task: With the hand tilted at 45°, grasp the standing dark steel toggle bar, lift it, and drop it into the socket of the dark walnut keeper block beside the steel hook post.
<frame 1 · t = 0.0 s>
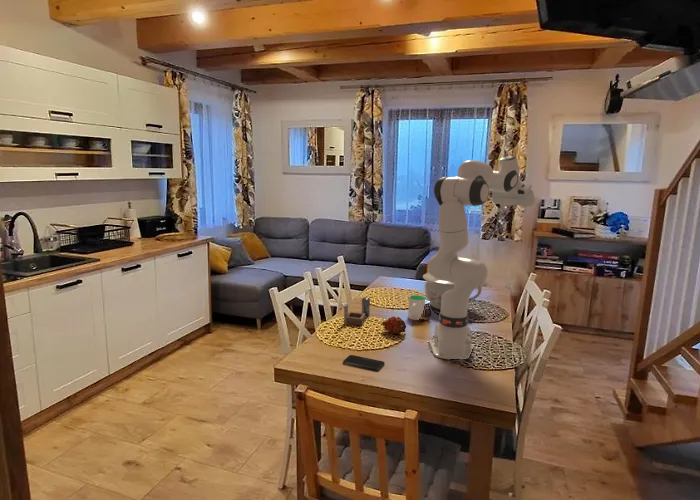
hand: (514, 211, 226), 54 cm above the table, tool tilted 30°, fingers open, 8 cm apart
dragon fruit: (393, 333, 208), on the table
keeper: (355, 322, 221), on the table
steel toggle: (365, 315, 230), on the table
mug: (415, 318, 228), on the table
phone: (363, 365, 176), on the table
chamber pot: (446, 307, 247), on the table
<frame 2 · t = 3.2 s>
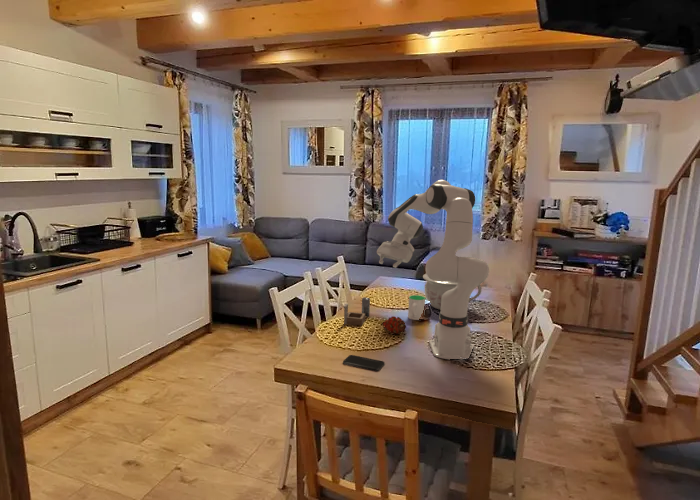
hand: (387, 265, 237), 24 cm above the table, tool tilted 40°, fingers open, 8 cm apart
nothing on the table moved.
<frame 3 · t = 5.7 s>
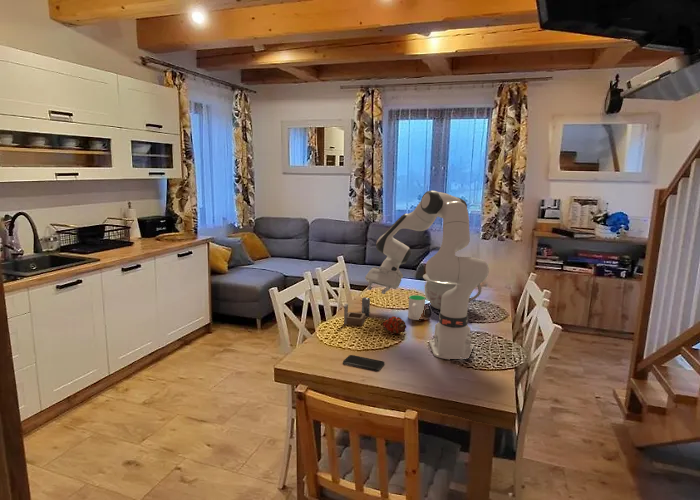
hand: (375, 291, 234), 11 cm above the table, tool tilted 45°, fingers open, 8 cm apart
nothing on the table moved.
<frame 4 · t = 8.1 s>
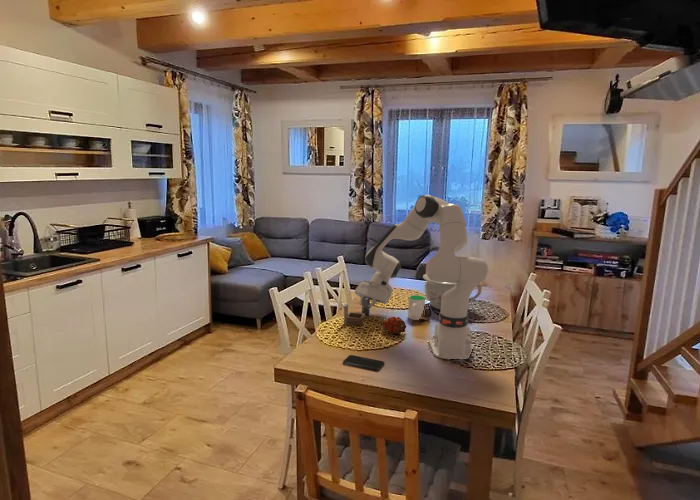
hand: (364, 306, 229), 5 cm above the table, tool tilted 45°, fingers closed on steel toggle, 4 cm apart
steel toggle: (365, 315, 230), on the table, touching gripper
everything else where it was.
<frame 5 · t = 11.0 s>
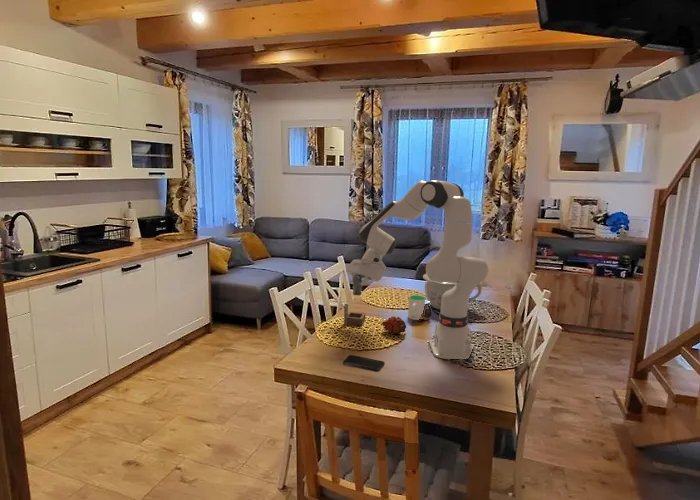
hand: (356, 284, 217), 19 cm above the table, tool tilted 45°, fingers closed on steel toggle, 4 cm apart
steel toggle: (357, 294, 219), point 14 cm above the table, touching gripper
everything else where it was.
when the fingers open (7 cm above the table, at t = 13.9 s): steel toggle drops 2 cm, resting in keeper.
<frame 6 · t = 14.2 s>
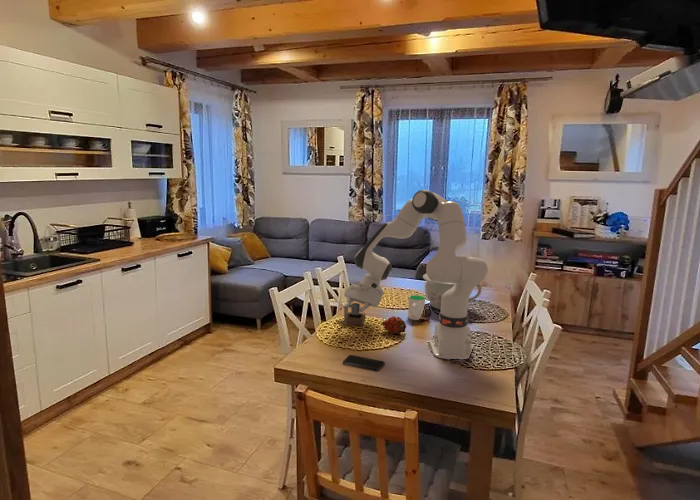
hand: (354, 309, 219), 7 cm above the table, tool tilted 45°, fingers open, 7 cm apart
steel toggle: (355, 322, 221), resting in keeper
everything else where it was.
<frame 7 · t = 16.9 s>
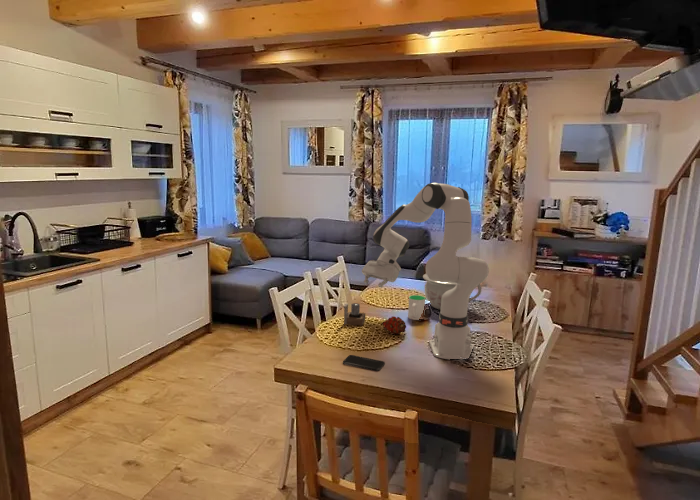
hand: (372, 284, 226), 17 cm above the table, tool tilted 45°, fingers open, 8 cm apart
nothing on the table moved.
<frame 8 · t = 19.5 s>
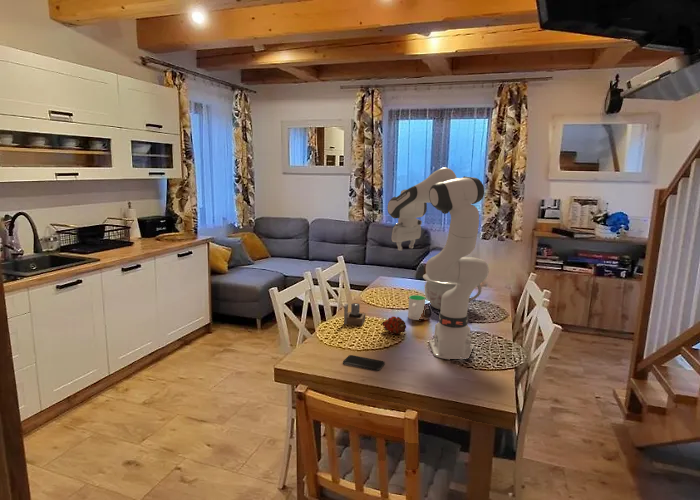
hand: (405, 249, 228), 34 cm above the table, tool pointing down, fingers open, 8 cm apart
nothing on the table moved.
at the end: steel toggle 0.0 cm off-centre on the keeper, point 0.0 cm above the keeper's base; steel toggle tilted 0°; the gripper is holding nothing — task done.
